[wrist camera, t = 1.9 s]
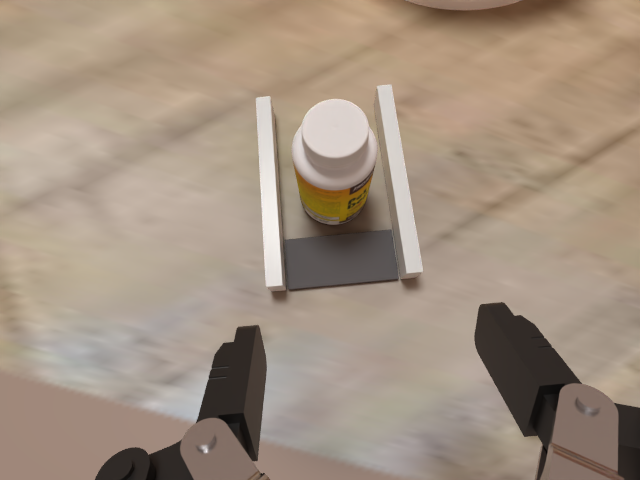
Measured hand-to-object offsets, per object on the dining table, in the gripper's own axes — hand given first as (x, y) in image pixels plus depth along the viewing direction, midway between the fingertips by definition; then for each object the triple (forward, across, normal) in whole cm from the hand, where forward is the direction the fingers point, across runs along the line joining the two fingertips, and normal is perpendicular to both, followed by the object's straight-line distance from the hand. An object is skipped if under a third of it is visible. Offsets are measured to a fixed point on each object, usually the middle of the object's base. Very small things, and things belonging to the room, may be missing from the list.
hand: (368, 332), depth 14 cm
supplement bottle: (+19, 0, +3) cm, 19 cm away
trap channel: (+20, 0, +1) cm, 20 cm away
